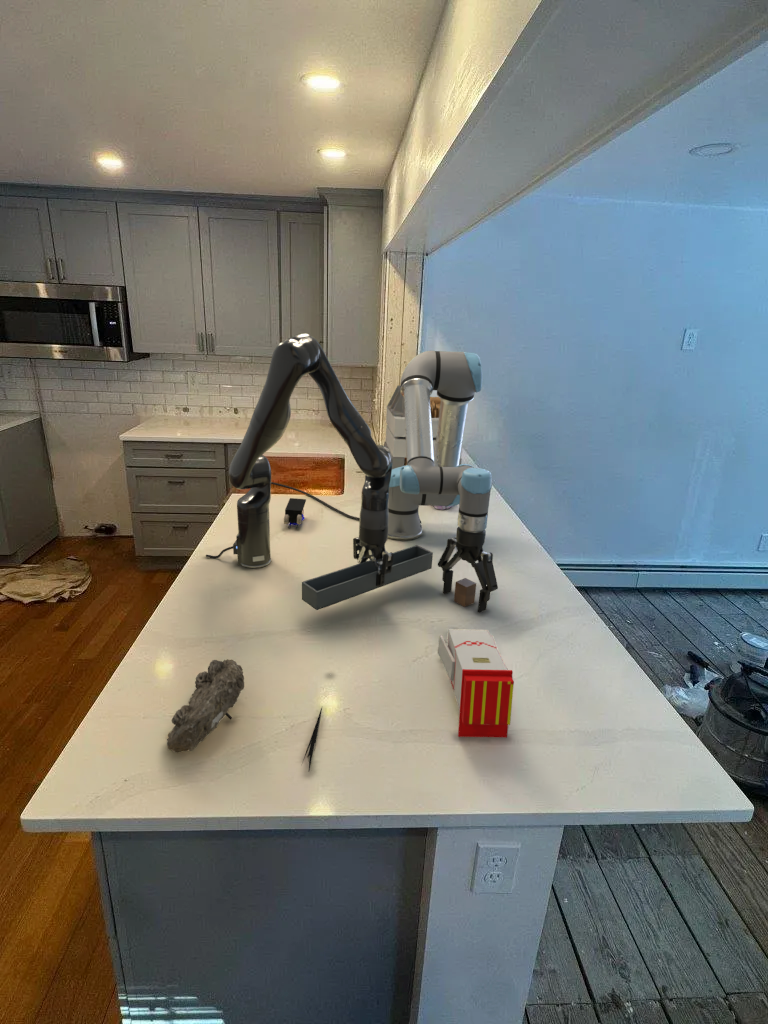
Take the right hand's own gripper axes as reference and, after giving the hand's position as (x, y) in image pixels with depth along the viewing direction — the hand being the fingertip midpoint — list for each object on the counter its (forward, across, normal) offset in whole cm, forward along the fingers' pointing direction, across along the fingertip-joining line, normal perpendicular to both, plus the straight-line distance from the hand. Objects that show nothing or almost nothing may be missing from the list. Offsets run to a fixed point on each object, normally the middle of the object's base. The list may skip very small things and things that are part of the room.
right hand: (463, 601), depth 155 cm
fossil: (0, +2, -73) cm, 73 cm away
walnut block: (0, 0, 0) cm, 0 cm away
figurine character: (0, -76, -6) cm, 76 cm away
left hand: (-5, -16, -20) cm, 26 cm away
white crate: (0, -100, +80) cm, 128 cm away
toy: (0, +27, -28) cm, 39 cm away
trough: (-5, -16, -20) cm, 26 cm away
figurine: (0, -59, +53) cm, 79 cm away
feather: (0, +15, -58) cm, 60 cm away
